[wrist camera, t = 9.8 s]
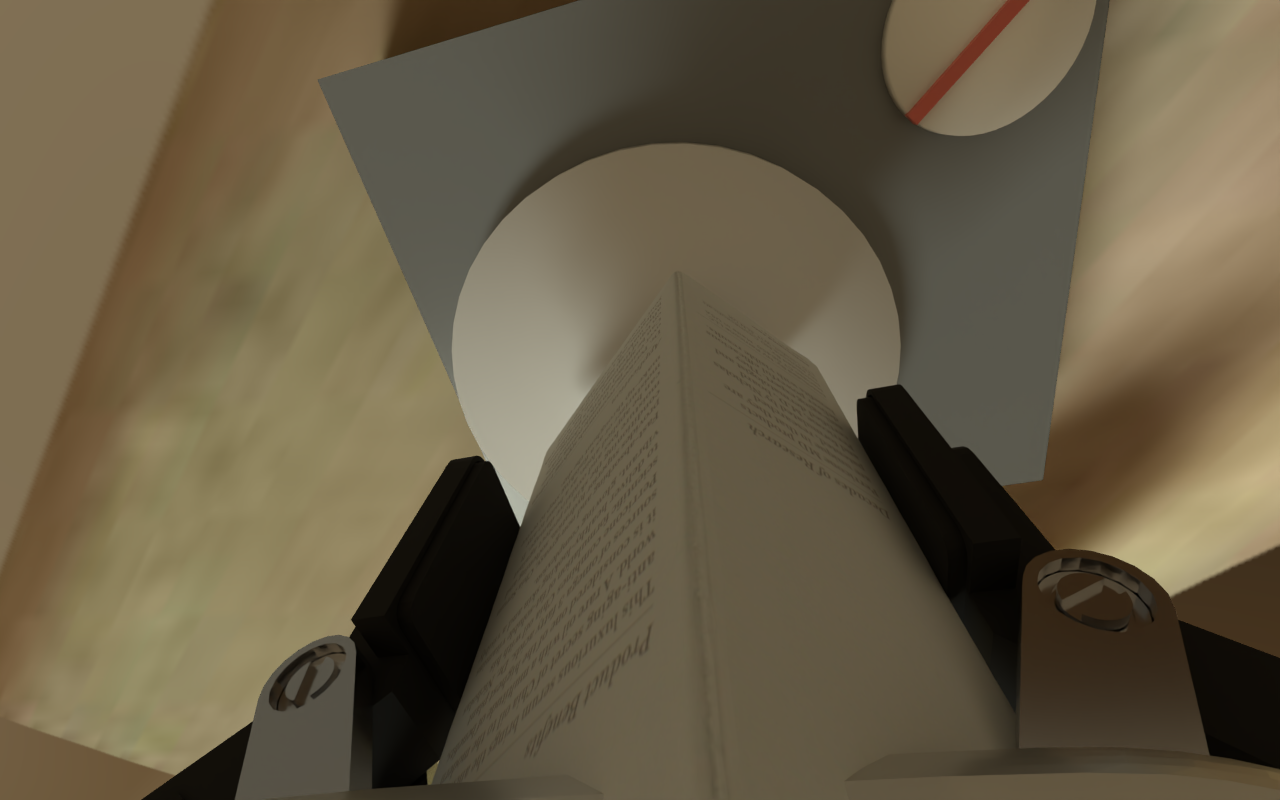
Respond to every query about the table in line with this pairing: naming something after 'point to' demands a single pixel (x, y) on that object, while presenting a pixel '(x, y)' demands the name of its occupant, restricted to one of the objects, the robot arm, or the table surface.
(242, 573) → the table surface
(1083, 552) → the robot arm
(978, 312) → the kitchen scale
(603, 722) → the skincare box
